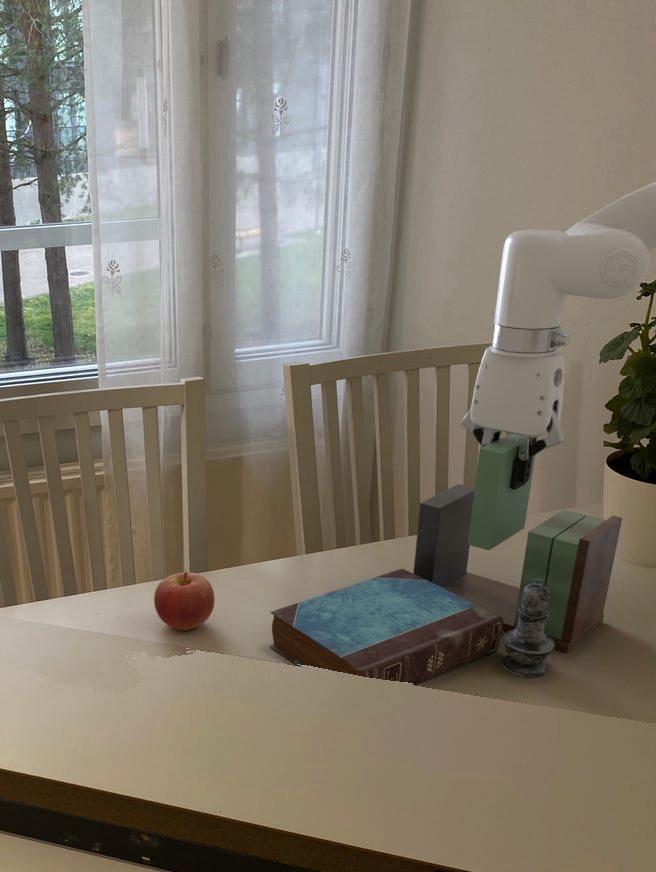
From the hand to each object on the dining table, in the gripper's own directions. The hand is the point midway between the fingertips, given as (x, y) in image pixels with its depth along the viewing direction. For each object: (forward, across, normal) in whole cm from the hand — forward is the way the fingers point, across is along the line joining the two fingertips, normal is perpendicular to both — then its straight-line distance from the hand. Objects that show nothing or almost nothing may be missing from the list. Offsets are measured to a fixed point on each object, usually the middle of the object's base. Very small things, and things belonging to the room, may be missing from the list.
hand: (504, 482), depth 118 cm
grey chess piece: (+18, -11, +12) cm, 24 cm away
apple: (+18, +27, +32) cm, 46 cm away
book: (+18, +4, +20) cm, 27 cm away
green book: (+8, 0, 0) cm, 8 cm away
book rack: (+18, -2, 0) cm, 18 cm away
